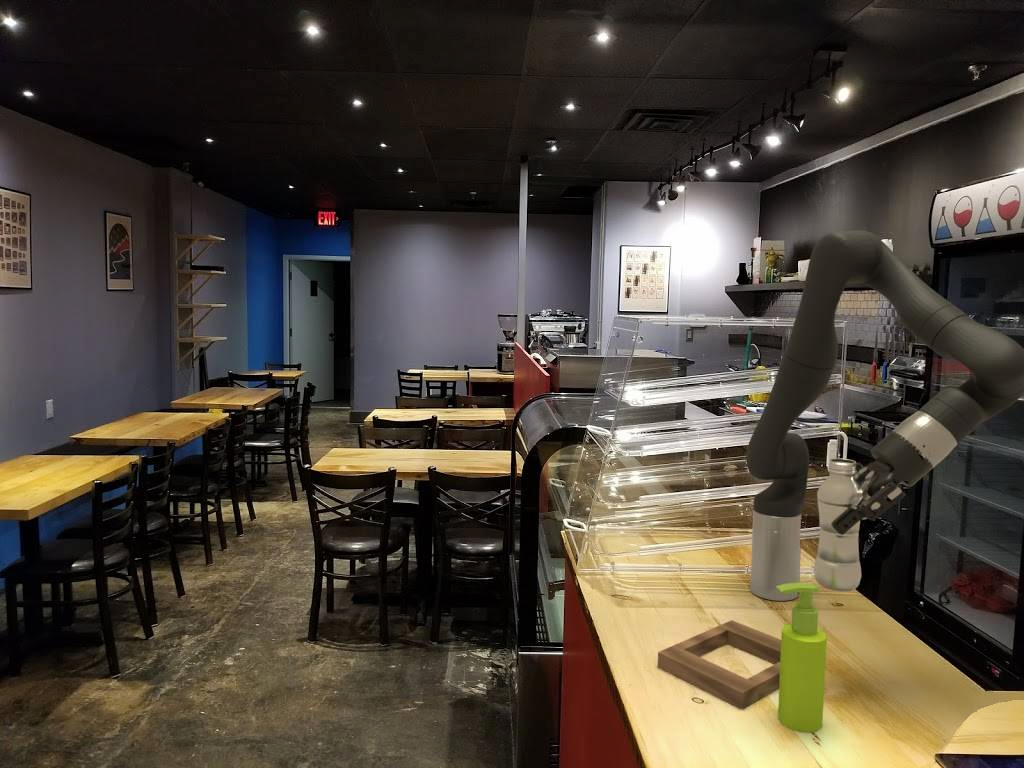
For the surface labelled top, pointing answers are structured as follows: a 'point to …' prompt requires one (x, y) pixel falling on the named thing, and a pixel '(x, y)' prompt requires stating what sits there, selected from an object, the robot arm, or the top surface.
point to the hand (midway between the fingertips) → (828, 522)
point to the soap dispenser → (802, 663)
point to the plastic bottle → (836, 551)
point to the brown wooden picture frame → (717, 679)
